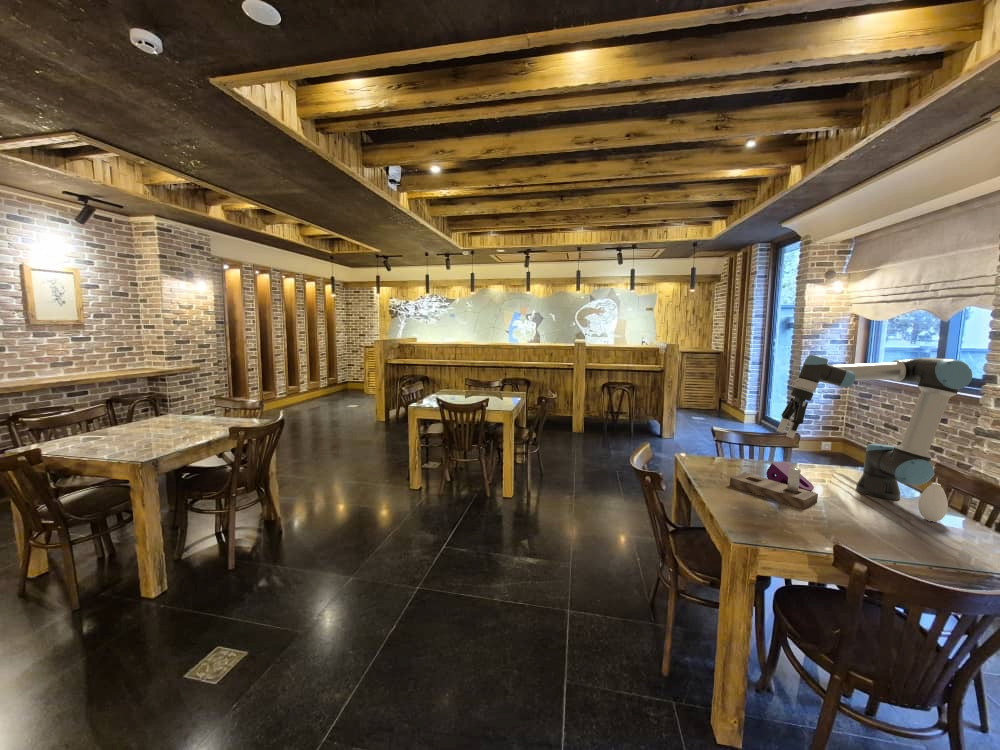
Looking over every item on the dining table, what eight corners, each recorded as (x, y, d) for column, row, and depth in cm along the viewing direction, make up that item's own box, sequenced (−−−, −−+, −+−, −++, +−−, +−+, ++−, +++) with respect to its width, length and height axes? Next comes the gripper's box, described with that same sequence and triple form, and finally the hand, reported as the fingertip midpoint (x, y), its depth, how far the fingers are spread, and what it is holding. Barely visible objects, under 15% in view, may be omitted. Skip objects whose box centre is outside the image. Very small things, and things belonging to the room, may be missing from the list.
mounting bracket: (808, 501, 194) (777, 474, 209) (818, 489, 190) (785, 461, 204) (793, 503, 191) (763, 475, 206) (803, 490, 187) (772, 462, 201)
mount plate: (817, 502, 178) (818, 493, 177) (803, 509, 170) (804, 500, 170) (744, 480, 202) (745, 472, 202) (729, 485, 195) (730, 477, 194)
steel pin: (798, 500, 179) (802, 469, 178) (794, 502, 177) (798, 471, 175) (788, 497, 182) (791, 466, 181) (784, 499, 180) (787, 468, 179)
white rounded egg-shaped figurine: (912, 517, 165) (918, 474, 164) (923, 515, 168) (929, 472, 166) (938, 526, 158) (945, 481, 156) (949, 524, 161) (956, 479, 159)
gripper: (785, 385, 193) (767, 427, 196) (804, 388, 170) (784, 436, 173) (803, 390, 191) (785, 433, 194) (825, 395, 167) (804, 443, 170)
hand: (784, 434), depth 183 cm, fingers open, 13 cm apart
